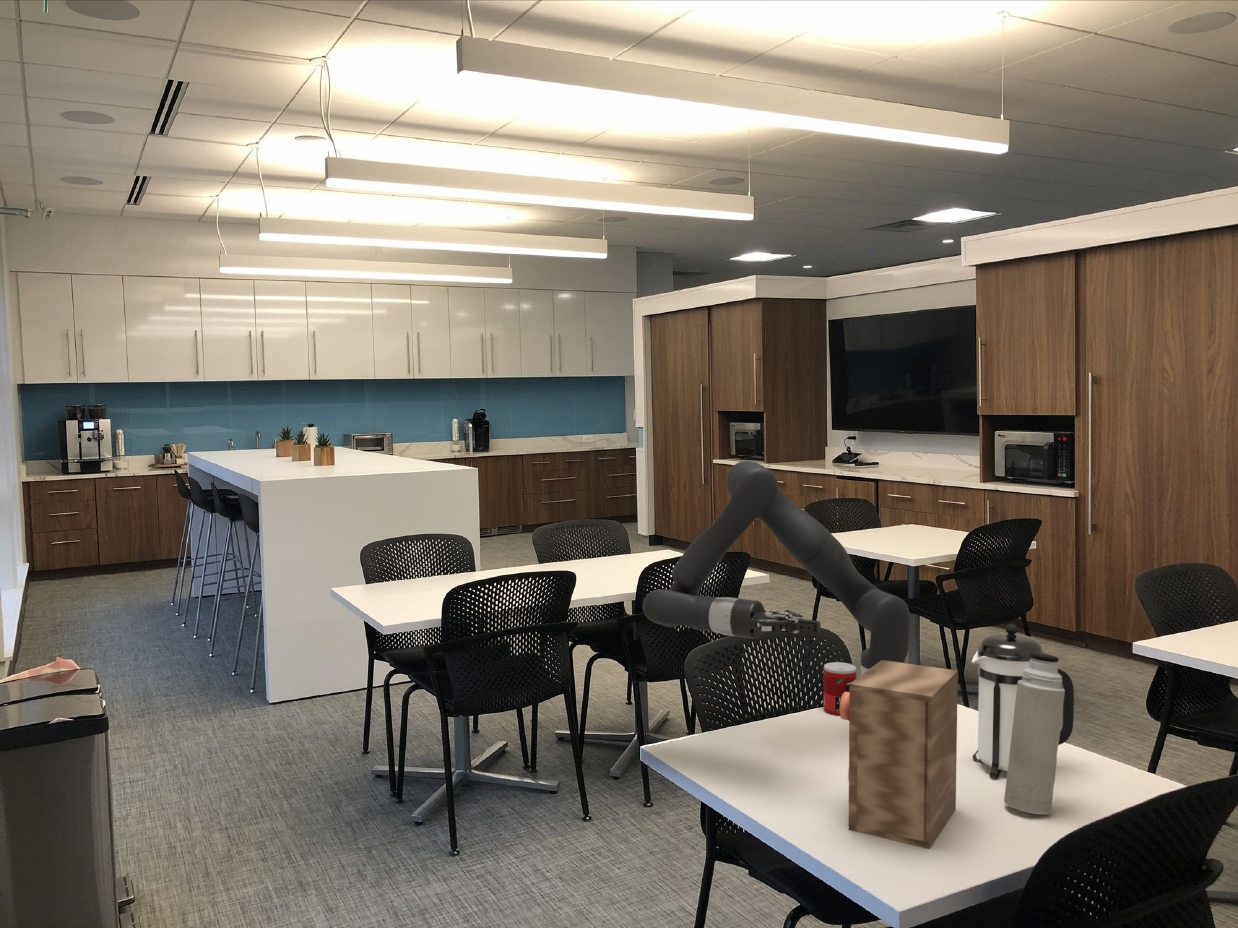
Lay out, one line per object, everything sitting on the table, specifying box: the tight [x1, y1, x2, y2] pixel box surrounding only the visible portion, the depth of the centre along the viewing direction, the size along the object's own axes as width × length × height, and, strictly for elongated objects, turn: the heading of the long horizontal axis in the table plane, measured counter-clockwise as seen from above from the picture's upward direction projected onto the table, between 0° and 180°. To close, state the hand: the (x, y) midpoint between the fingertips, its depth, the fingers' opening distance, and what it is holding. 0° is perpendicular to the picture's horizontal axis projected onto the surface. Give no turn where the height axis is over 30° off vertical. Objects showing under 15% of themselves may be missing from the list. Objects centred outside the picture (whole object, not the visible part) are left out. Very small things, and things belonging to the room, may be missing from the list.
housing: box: [848, 660, 959, 849], centre depth 173 cm, size 14×18×26 cm
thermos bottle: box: [1003, 653, 1065, 815], centre depth 177 cm, size 8×8×28 cm
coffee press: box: [971, 623, 1075, 780], centre depth 196 cm, size 17×16×30 cm
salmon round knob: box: [839, 692, 850, 721], centre depth 174 cm, size 14×5×5 cm, turn 57°
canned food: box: [823, 661, 857, 717], centre depth 233 cm, size 8×8×11 cm
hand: (819, 627), depth 184 cm, fingers closed
